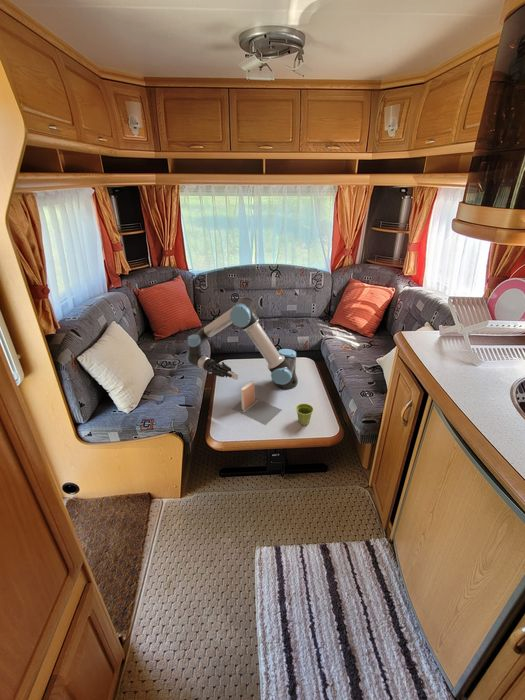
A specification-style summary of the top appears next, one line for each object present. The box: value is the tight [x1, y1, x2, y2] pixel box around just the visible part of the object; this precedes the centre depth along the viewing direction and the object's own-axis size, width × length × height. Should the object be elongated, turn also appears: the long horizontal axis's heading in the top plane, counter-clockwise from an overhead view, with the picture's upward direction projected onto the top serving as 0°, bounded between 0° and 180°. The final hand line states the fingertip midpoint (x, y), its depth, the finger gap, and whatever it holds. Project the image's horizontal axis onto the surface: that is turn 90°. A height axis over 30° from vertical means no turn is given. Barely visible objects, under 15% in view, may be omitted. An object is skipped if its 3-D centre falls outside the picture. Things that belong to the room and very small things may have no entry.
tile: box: [240, 380, 256, 410], centre depth 197 cm, size 2×10×14 cm, turn 143°
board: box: [231, 397, 283, 426], centre depth 197 cm, size 24×16×2 cm, turn 53°
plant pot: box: [295, 403, 314, 426], centre depth 187 cm, size 9×9×9 cm
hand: (237, 377), depth 196 cm, fingers closed
